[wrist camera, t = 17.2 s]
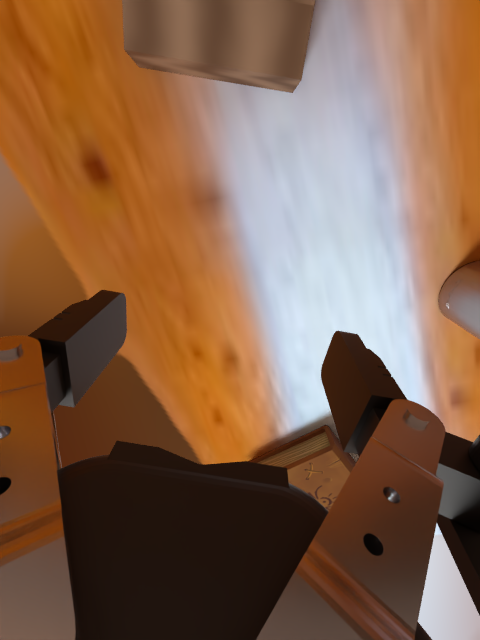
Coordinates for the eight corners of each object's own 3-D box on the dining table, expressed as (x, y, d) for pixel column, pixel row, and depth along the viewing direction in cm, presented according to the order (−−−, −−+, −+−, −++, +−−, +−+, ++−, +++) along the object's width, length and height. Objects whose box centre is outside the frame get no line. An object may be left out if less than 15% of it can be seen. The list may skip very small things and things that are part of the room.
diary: (375, 486, 61) (388, 515, 56) (298, 517, 66) (304, 546, 60) (326, 422, 52) (336, 449, 47) (241, 462, 57) (242, 491, 52)
